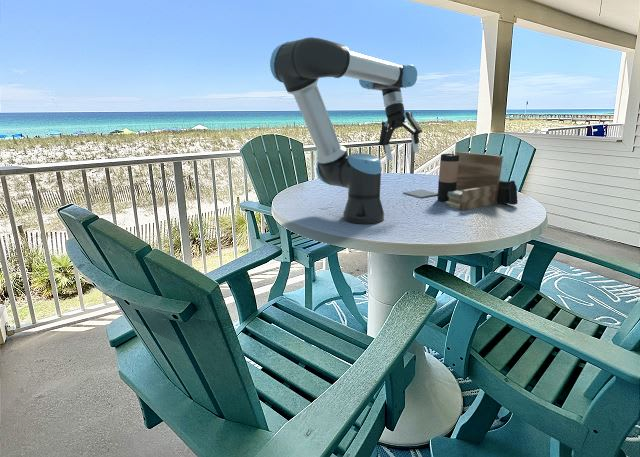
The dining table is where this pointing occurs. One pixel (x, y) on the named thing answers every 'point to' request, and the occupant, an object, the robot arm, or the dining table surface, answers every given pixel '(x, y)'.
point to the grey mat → (420, 193)
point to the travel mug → (447, 176)
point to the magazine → (507, 193)
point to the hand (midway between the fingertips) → (402, 156)
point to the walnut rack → (478, 179)
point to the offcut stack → (455, 199)
